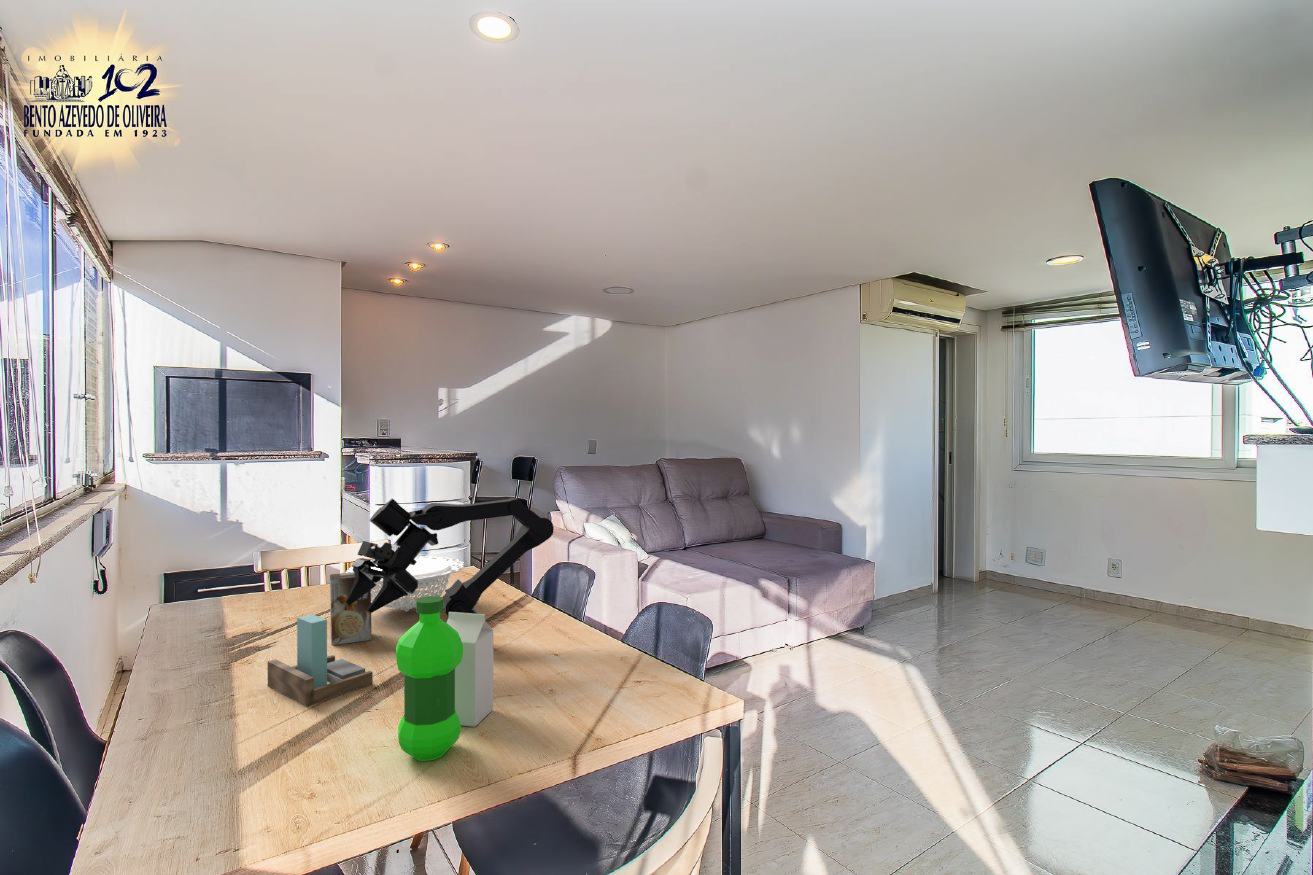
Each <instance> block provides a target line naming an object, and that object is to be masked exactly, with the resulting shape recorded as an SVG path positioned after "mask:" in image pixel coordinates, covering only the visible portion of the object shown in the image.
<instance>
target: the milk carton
mask: <svg viewBox="0 0 1313 875" xmlns="http://www.w3.org/2000/svg"><path fill="white" fill-rule="evenodd" d="M446 623H447V624H448V625H450V626H451V627H452V628H453V629H455V630H456V631H457V632H458V633H459V636H460V638H461V641H462V644H463V656H462V661H461V662H460V663H459V665H458V666H457V667H456V668H455V710H456V712H457V714H458V717H459V720H460V724H461V726H462V727H463V726H464V727H465V726H466V727H476V726H477V725H478V724H480V723H481V722H482V721H483V719H486V717H487V716H488V715H489V714H490V713H491V712H492V711H493V710H494V629H493V628H492V627H491V626H490V625H489V623H488V622H487V620H486V614H485V613H484V614H483V613H482V614H481V613H478V614H472V613H458V612H449V617H447V620H446Z"/></svg>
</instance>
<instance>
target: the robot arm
mask: <svg viewBox="0 0 1313 875" xmlns="http://www.w3.org/2000/svg"><path fill="white" fill-rule="evenodd" d="M507 516H512V517H513V518H514V519H515V520H517V522H519V523H520V524H521V526H520V527H519V529H518V531H517V533H516V534H515V536H514V538H513V539H512V540H511V541H510V542H509V543H507V545H506V546H505V547H503V548H502V549H501V550H500V551H499V552H497V554H496V555H495V556H494V557H492V559H491V560H489V561H488V562H487V563H486V564H485V565H484V566H483V567H482V568H481V569H479V570H478V571H477V572H476V573H475V575H473V576H472V577H471V578H469V579H467V580H466V581H464V582H462V581H461V580H460V579H459V578H458V579H457V580H455V582H453V584H452V585H451V586H450V587H448V588H447V589H445V590H444V592H445V594H443V596H442V597H443V611H444V613H445V614H446V616H447V618H449V612H458V613H472V614H479V612H478V611H477V610H476V609H475V606H476V605H477V604H478V602H479V599H480V597H481V596H482V594H483V593H484V592H485V591H487V589H488V588H489V587H491V585H493V583H495V582H496V580H497V579H499V578H500V577H501V576H502V575H503V574H504V573H505V572H506V571H508V570H509V568H510V567H512V565H514V564H515V563H516V562H517V561H518V560H519V559H520V558H521V557H522V556H523V555H524V554H525V553H527V552H528V551H530V550H533V549H534V548H536V547H538V546H540V545H542V544H543V543H545V542H547V541H548V540H550V539H551V537H552V536H553V534H554V529H555V528H554V523H553V522H552V520H550V519H549V518H547V517H545V516H542V515H540V514H537V513H535V511H533V510H531V509H530V508H529V507H527V506H526V505H525V504H524V503H523V502H522V501H521V500H519V499H517V498H515V497H509V498H507V499H501V500H500V499H498V500H492V501H482V502H475V503H467V504H466V503H465V504H457V503H456V504H455V503H454V504H453V503H446V502H445V503H442V502H431V503H427V504H426V505H425V506H424V507H423V508H422V509H418V510H412V511H409V512H408V511H407V510H406V509H405V508H403V506H401V505H400V504H399V502H397V501H396V500H395V499H394V498H390V499H389V501H387V502H385V504H383V505H382V506H381V507H379V508H378V509H377V510H376V511H375V512H374V513H373V515H372V516H371V517H370V518H369V522H370V523H372V524H373V525H374V526H375V527H377V529H379V530H380V531H382V532H383V533H384V534H386V535H387V536H388V537H391V536H396V537H398V535H400V534H401V535H400V536H399V537H398V538H397V539H396V541H394V543H393V544H392V543H389V542H388V541H387V542H386V541H383V540H382V541H380V543H378V544H377V543H374V542H370V541H366V540H363V541H362V543H361V545H360V547H359V550H358V552H357V556H360V557H361V558H360V557H359V558H357V559H356V560H355V561H354V562H353V563H352V564H351V567H353V572H354V574H355V580H354V583H353V586H352V588H351V590H350V593H349V595H348V597H347V600H346V603H347V604H348V605H350V604H352V603H353V602H355V601H356V600H358V599H359V598H360V597H362V596H363V595H364V594H366V593H367V592H368V591H370V590H371V589H372V588H374V587H375V586H376V584H375V583H376V582H378V581H380V580H381V579H382V578H383V586H382V588H381V589H380V591H379V590H378V592H379V593H378V594H377V595H376V596H375V599H374V598H373V599H374V600H373V599H372V600H373V601H371V605H370V606H369V608H368V611H369V612H370V613H371V614H373V613H374V612H377V611H378V610H379V609H381V608H383V607H384V606H385V605H386V606H387V604H390V603H391V602H392V603H394V602H393V601H395V600H397V599H399V598H402V597H403V598H404V597H405V596H407V595H408V593H411V594H413V593H414V591H415V590H416V589H417V588H418V580H416V579H415V578H414V577H413V576H412V575H411V574H410V573H409V572H408V571H407V570H406V569H407V568H408V566H409V565H415V564H416V562H417V561H416V560H414V559H415V558H416V557H418V555H419V554H420V553H421V552H422V550H423V549H424V548H425V547H426V545H427V544H429V545H430V546H436V545H439V539H438V533H437V532H435V533H431V532H430V531H429V530H427V529H426V528H425V527H427V528H428V529H430V530H431V531H440V530H445V529H447V528H450V527H454V526H456V525H458V524H461V523H465V522H470V521H476V520H477V521H479V520H485V519H493V518H500V517H507ZM414 523H415V524H414ZM418 525H419V526H420V527H419V526H418ZM424 526H425V527H424ZM362 556H363V557H362ZM368 558H369V559H368ZM371 559H372V560H371ZM375 564H376V565H377V566H376V565H375ZM417 590H418V589H417ZM407 592H408V593H407Z"/></svg>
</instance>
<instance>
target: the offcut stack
mask: <svg viewBox="0 0 1313 875" xmlns="http://www.w3.org/2000/svg"><path fill="white" fill-rule="evenodd" d="M365 672H366V667H365V668H364V667H363V666H360V665H358V664H356V663H353V662H350V661H348V660H346V659H343V658H340V659H337V660H335V661H333V662H330V663H327V683H328V682H329V684H330V683H333V682H337V681H340V680H343V679H346V678H349V677H352V676H355V675H359V674H362V673H365Z"/></svg>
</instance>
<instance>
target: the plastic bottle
mask: <svg viewBox="0 0 1313 875" xmlns="http://www.w3.org/2000/svg"><path fill="white" fill-rule="evenodd" d="M418 598H419V597H418ZM415 609H416V610H415V611H416V614H419V620H418V621H416V623H415V624H414V625H413V626H411V627H410V628H409V629H407V631H406V632H405V633H404V634H402V636H401V637H399V638H398V641H397V642H396V646H395V656H396V657H395V658H396V660H395V661H396V665H397V669H398V671H399V672H400V673H401V674H403V676H404V677H403V678H404V679H403V680H404V682H403V683H404V685H403V686H404V688H403V689H404V690H403V691H404V692H403V693H404V699H403V700H404V701H403V702H404V705H403V707H404V708H403V710H404V711H403V712H404V713H403V716H402V717H401V719H400V721H399V724H398V726H397V730H398V731H397V735H398V737H397V738H398V744H399V746H400V749H401V751H403V753H405V754H407V755H408V756H411V757H412V758H413V759H415V760H417V761H420V762H428V761H433V760H434V761H435V760H437V759H439V758H442V757H443V756H444V755H445V754H446V753H447V751H448V750H449V749H450V748H451V747H453V745H455V743H456V742H457V741H458V740H459V738H460V735H461V731H462V725H461V724H460V720H459V717H458V714H457V712H456V710H455V668H456V667H457V666H458V665H459V663H460V662H461V661H462V656H463V644H462V641H461V638H460V636H459V633H458V632H457V631H456V630H455V629H453V628H452V627H451V626H450V625H448V624H447V622H445V621H444V620H442V619H441V612H443V611H444V609H443V596H440V597H439V596H431V595H430V596H427V597H421V598H419V599H417V600H416V608H415Z"/></svg>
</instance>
